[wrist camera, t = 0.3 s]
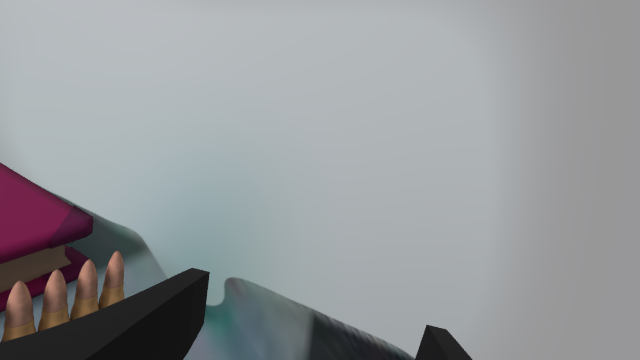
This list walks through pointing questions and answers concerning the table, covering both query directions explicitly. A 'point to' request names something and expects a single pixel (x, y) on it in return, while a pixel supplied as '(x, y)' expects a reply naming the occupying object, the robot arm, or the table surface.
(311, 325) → the table surface
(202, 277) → the robot arm
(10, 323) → the ammunition clip
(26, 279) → the book
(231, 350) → the table surface
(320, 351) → the table surface
